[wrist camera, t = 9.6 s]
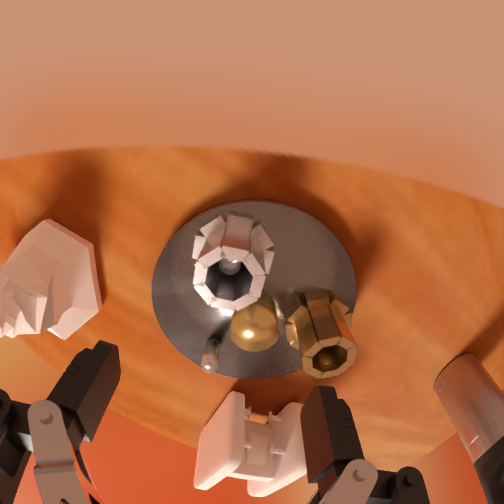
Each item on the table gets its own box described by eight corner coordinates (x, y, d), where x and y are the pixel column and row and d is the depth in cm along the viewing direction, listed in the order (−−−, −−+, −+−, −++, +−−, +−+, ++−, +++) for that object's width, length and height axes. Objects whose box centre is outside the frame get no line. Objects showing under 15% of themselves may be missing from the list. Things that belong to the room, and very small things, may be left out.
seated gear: (347, 285, 25) (369, 321, 20) (346, 336, 27) (363, 375, 22) (280, 296, 26) (288, 337, 20) (287, 347, 28) (294, 389, 22)
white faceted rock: (31, 194, 24) (-46, 200, 11) (126, 255, 29) (82, 301, 15) (5, 280, 25) (-59, 320, 12) (90, 339, 29) (51, 411, 16)
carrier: (379, 228, 25) (406, 248, 20) (313, 378, 32) (321, 411, 27) (168, 178, 23) (146, 188, 18) (153, 350, 30) (140, 383, 25)
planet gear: (279, 220, 23) (288, 245, 17) (261, 287, 25) (264, 327, 20) (203, 204, 22) (187, 224, 17) (192, 273, 25) (176, 309, 19)
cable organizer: (236, 376, 32) (232, 457, 21) (308, 395, 33) (322, 468, 22) (199, 429, 37) (190, 490, 26) (259, 443, 38) (261, 501, 27)
